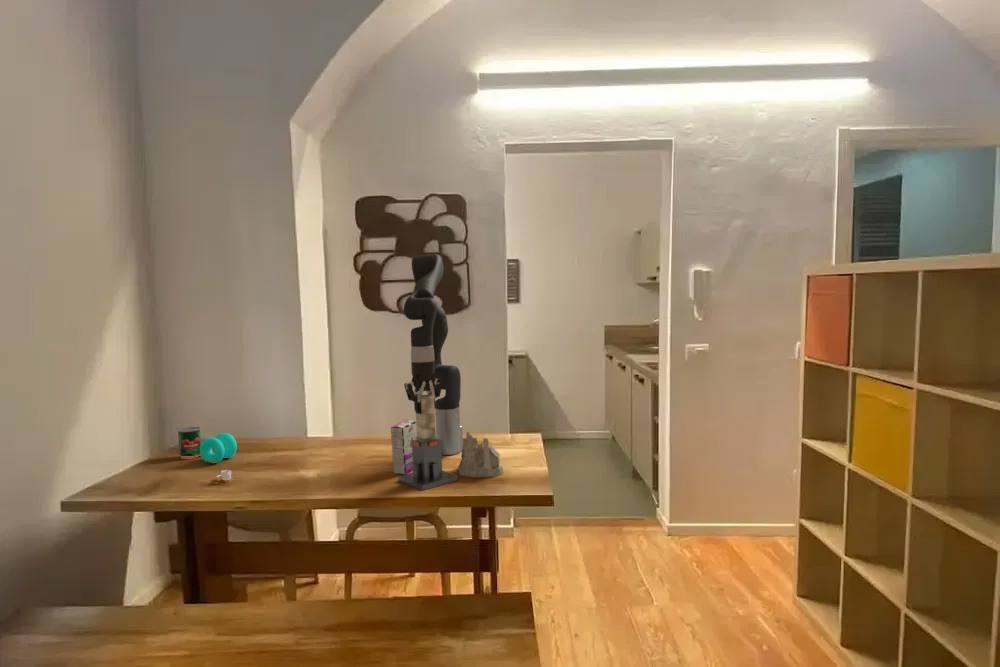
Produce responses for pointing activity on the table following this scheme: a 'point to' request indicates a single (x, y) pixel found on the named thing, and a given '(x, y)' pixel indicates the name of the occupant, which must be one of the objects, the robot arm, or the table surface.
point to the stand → (427, 466)
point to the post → (426, 420)
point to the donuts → (218, 447)
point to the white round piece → (225, 474)
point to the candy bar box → (403, 446)
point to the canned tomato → (189, 441)
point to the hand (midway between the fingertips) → (425, 411)
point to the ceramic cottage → (479, 459)
